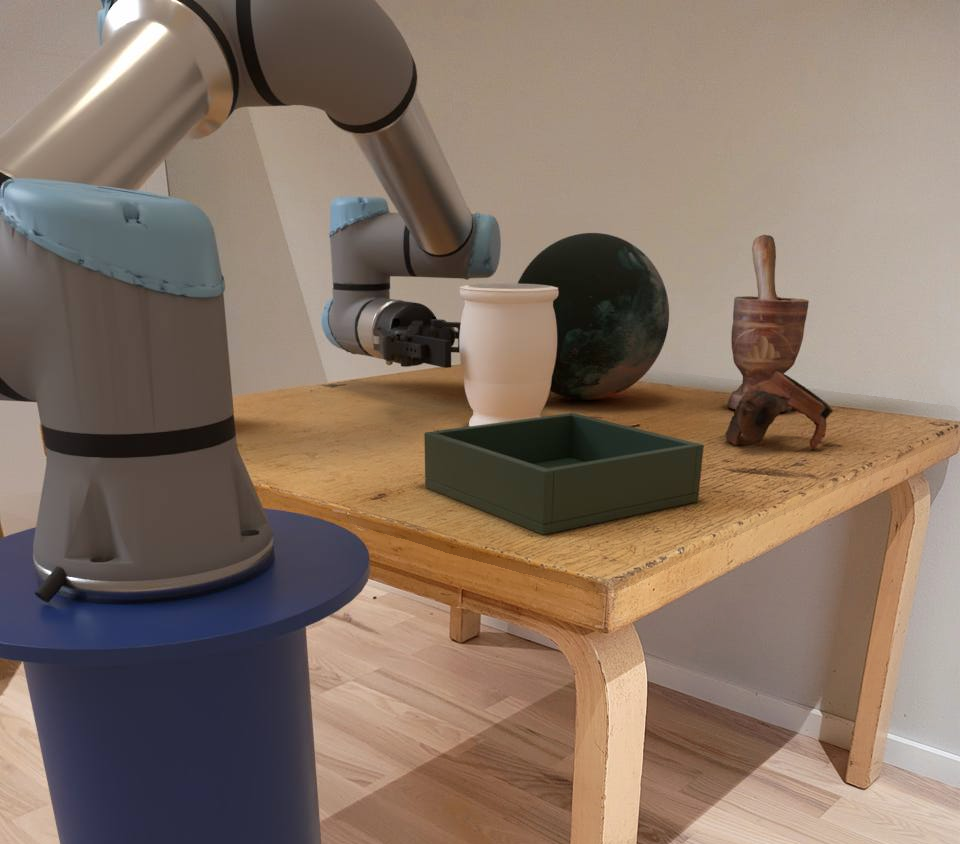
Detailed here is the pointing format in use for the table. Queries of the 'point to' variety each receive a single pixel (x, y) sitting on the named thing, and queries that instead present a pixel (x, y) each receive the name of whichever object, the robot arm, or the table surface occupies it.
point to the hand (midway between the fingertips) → (499, 350)
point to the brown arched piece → (776, 409)
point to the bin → (562, 470)
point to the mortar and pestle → (765, 326)
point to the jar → (507, 349)
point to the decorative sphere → (601, 313)
